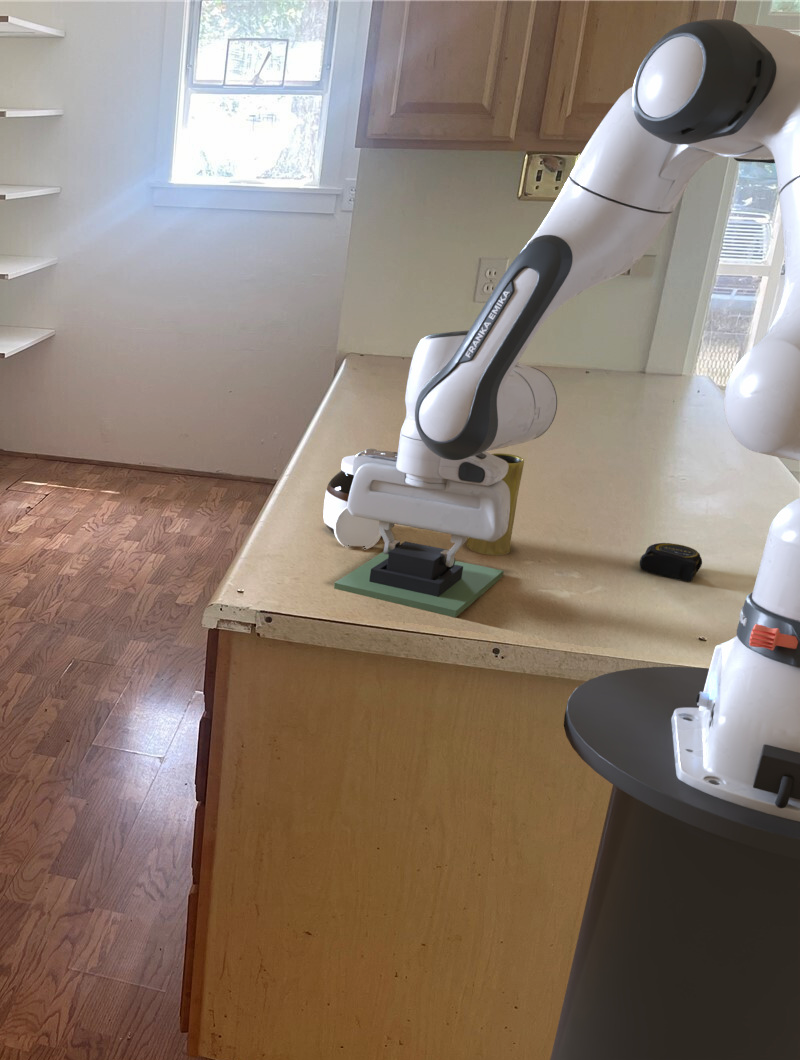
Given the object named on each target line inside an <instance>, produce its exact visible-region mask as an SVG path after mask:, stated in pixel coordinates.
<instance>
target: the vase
mask: <svg viewBox="0 0 800 1060" xmlns="http://www.w3.org/2000/svg"><path fill="white" fill-rule="evenodd" d="M491 454H492V455H494V456H497V457H499V458H501V459H503V460H505V461H506V462H507V463H508V465H509V468H508V472H507V474H506V476H505V477H504V478H503V479H502V480H503V481H504V482H505V483H506V484H507V486H508V488H509V491H510V515H509V524H508V529H507V532H506V533H505V534H504V535H503V536H502V537H501V538H499V539H498V540H496V541H494V542H489V541H484V540H479V539H473V538H467V539H468V540H467V543H466V547H467V548H468V549H469V550H471V551H473V552H476V553H478V554H479V553H480V554H482V555H483V554H484V555H492V556H499V555H506V554H508V553H510V552H511V542H512V535H513V529H514V523H515V516H516V509H517V502H518V496H519V493H520V492H519V491H520V485H521V481H522V476H523V471H524V466H525V465H524V464H525V459H524V458H522V457H521V456H519V455H515V454H510V453H495V452H494V453H491Z"/></svg>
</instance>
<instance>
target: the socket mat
mask: <svg viewBox="0 0 800 1060" xmlns="http://www.w3.org/2000/svg"><path fill="white" fill-rule="evenodd" d="M388 556H389V555H387V554H384V551H382V552H381V553H379V554H377V555H376V556H374V557H372V558H371V559H370V560H368V561H367V562H365V563H364V564H361V565H360V566H358V567H357V568H355V569H354V570H352V571H351V572H349V573H347V574H346V575H345V576H343V577H341V578H340V579H339V580H336V581H335V582H334V585H333V590H338V591H341V592H346V593H351V594H355V595H359V596H363V597H366V598H371V599H375V600H380V601H384V602H388V603H392V604H396V605H401V606H405V607H409V608H414V609H418V610H422V611H424V612H425V611H426V612H430V613H435V614H438V615H442V616H447V617H450V618H457V617H458V616H459V615H460V614H462V613H463V612H464V611H465V610H466V609H467V608H469V607H470V606H471V605H472V604H474V602H475V601H477V600H478V599H479V598H481V596H482V595H484V594H485V593H486V592H487V591H488V590H489V589H490V588H492V587H493V586H494V585H495V584H497V582H499V580H500V579H502V578H503V576H504V572H505V571H504V570H503V569H499V568H493V567H488V566H484V565H478V564H473V563H468V562H464V561H458V560H456V558H455V559H454V563H453V565H452V566H451V567H447V569H446V572H444V573H443V574H442V575H440V576H439V577H438V578H436V579H435V580H431V579H426V578H422V577H417V576H412V575H408V574H403V573H398V572H394V571H389V570H387V563H388Z"/></svg>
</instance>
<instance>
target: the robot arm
mask: <svg viewBox="0 0 800 1060" xmlns="http://www.w3.org/2000/svg"><path fill="white" fill-rule="evenodd" d="M719 157H725V158H732V159H734V160H735V161H737V162H740V163H743V162H744V163H765V164H774V165H775V170H776V181H777V192H778V193H777V194H778V202H779V210H780V220H781V229H782V242H783V255H784V256H783V257H784V279H783V280H784V282H783V289H782V295H781V299H780V303H779V306H778V309H777V312H776V314H775V317H774V320H773V321H772V323H771V326H770V327H769V328H768V330H767V331H766V333H765V335H764V336H763V337H762V338H761V339H760V341H759V342H758V343H756V345H753V347H751V348H750V349H749V350H748V351H747V352H745V354H744V355H743V356H742V357H741V358H740V359H739V361H738V362H737V364H736V365H735V367H734V368H733V369H732V372H731V373H730V375H729V377H728V380H727V383H726V386H725V390H724V395H723V411H724V417H725V421H726V423H727V426H728V428H729V430H730V432H731V434H732V436H733V437H734V438H735V440H736V441H737V442H738V443H739V444H740V445H741V446H743V447H744V448H745V449H746V450H749V451H752V452H755V453H759V454H762V455H767V456H770V457H776V458H780V459H786V460H791V461H798V462H800V35H799V34H798V35H797V34H795V33H792V32H789V31H788V30H787V29H783V28H778V27H773V26H767V25H758V24H750V23H739V22H736V21H734V20H730V19H725V18H715V19H714V18H713V19H712V18H711V19H701V20H694V21H691V22H687V23H683V24H681V25H679V26H676V27H674V28H672V29H671V30H669V31H668V32H666V33H665V34H664V35H663V36H661V38H659V40H658V39H657V41H656V42H655V44H653V45H652V47H651V48H650V49H649V51H648V52H647V54H646V55H645V56H644V58H643V59H642V62H641V63H640V65H639V67H638V70H637V71H636V75H635V78H634V81H633V85H632V86H631V87H630V88H627V90H625V91H624V92H623V93H622V94H621V95H620V96H619V98H618V99H617V100H616V101H615V103H614V104H613V106H612V107H611V108H610V110H608V112H607V113H606V114H605V116H604V117H603V119H602V120H601V122H600V124H599V125H598V126H597V128H595V131H594V132H593V134H592V135H591V137H590V138H589V140H588V142H587V143H586V145H585V146H584V149H583V150H582V152H581V154H580V155H579V157H578V159H577V161H576V162H575V165H574V166H573V168H572V170H571V172H570V174H569V176H568V178H567V180H566V181H565V183H564V185H563V187H562V189H561V190H560V193H559V194H558V196H557V198H556V200H555V201H554V202H553V205H552V206H551V208H550V210H549V211H548V213H547V215H546V216H545V218H544V219H543V221H542V222H541V224H540V226H539V227H538V228H537V230H536V231H535V233H534V234H533V235H532V236H531V238H530V239H529V241H527V243H526V244H525V245H524V246H523V247H522V249H521V250H520V252H519V253H518V254H517V256H516V257H515V258H514V259H513V261H512V262H511V264H510V265H509V266H508V267H507V269H506V270H505V272H504V273H503V275H502V277H501V279H500V280H499V281H498V283H497V284H496V285H495V288H494V289H493V291H492V292H491V294H490V295H489V297H488V299H487V301H486V302H485V304H484V306H483V307H482V308H481V310H480V312H479V314H478V315H477V317H476V319H475V321H474V322H473V324H472V325H471V327H470V328H469V330H457V331H449V332H437V333H430V334H427V335H425V336H424V337H423V338H421V339H420V340H419V342H418V344H417V345H416V347H415V349H414V352H413V355H412V358H411V361H410V362H411V363H410V365H409V371H408V377H407V382H406V389H405V394H404V395H405V396H404V403H405V409H406V410H405V411H406V413H405V419H404V421H403V424H402V426H401V429H400V434H399V441H398V448H397V451H390V450H380V449H379V450H377V449H375V448H365V450H361V451H359V452H358V453H356V454H355V455H356V456H355V458H354V462H353V470H352V471H353V475H354V479H353V482H352V485H351V489H350V493H349V497H348V503H347V509H348V511H349V512H350V514H351V515H352V516H356V517H361V518H366V519H372V520H377V521H379V528H378V529H379V531H380V533H381V535H382V537H381V538H382V540H383V542H384V547H383V552H384V554H387V555H389V552H390V551H391V550H393V549H394V548H396V547H397V546H399V545H400V544H401V540H397V539H395V537H394V534H393V531H392V528H393V527H395V525H399V526H404V527H410V528H415V529H421V530H427V531H431V532H437V533H442V534H447V535H451V537H450V543H451V544H453V545H452V546H451V548H450V549H447V550H443V552H441V553H440V560H439V565H442V566H447V567H451V566H452V565H453V563H454V559H455V560H456V553H457V552H458V551H459V550H460V549H461V548H462V547H463V545H464V544H465V543H466V542H468V540H467V539H469V538H473V539H479V540H484V541H489V542H494V541H496V540H498V539H499V538H501V537H502V536H503V535H504V534H505V533H506V532H507V529H508V524H509V515H510V491H509V488H508V486H507V484H506V483H505V482H504V481H503V480H502V479H503V478H504V477H505V476H506V474H507V472H508V468H509V465H508V463H507V462H506V461H505V460H503V459H501V458H499V457H497V456H494V455H492V454H493V453H490V452H489V451H495V450H499V449H505V448H509V447H511V446H516V445H520V444H525V443H527V442H531V441H532V440H535V439H538V438H540V437H541V436H543V435H544V434H545V433H546V432H547V431H548V430H549V429H550V427H551V426H552V423H553V422H554V420H555V417H556V414H557V409H558V395H557V391H556V388H555V385H554V383H553V381H552V380H551V379H550V378H549V376H548V375H547V374H546V373H545V372H543V371H542V370H541V369H538V368H536V367H534V366H533V367H532V366H529V365H526V364H524V363H522V362H519V361H520V359H521V357H522V356H523V354H524V353H525V351H526V350H527V349H528V347H529V345H530V343H531V342H532V340H533V339H534V337H535V335H537V332H538V331H539V330H540V328H541V326H543V324H544V323H545V322H546V321H547V319H548V318H549V317H550V316H551V315H552V314H553V313H554V312H556V311H557V310H558V309H559V308H560V307H562V306H564V304H566V303H567V302H568V301H570V300H572V299H574V298H575V297H578V296H579V295H581V294H582V293H584V292H587V291H589V290H590V289H592V288H594V287H597V286H598V285H601V284H603V283H605V282H608V281H610V280H612V279H615V278H617V277H618V276H621V275H622V274H624V273H626V272H628V271H629V270H631V269H632V268H634V267H635V266H636V265H637V263H638V262H639V261H640V260H641V259H642V258H643V256H644V255H645V254H646V253H647V252H648V250H649V249H650V248H651V247H652V246H653V245H654V243H655V242H656V241H657V239H658V238H659V237H660V235H661V233H662V232H663V230H664V229H665V227H666V225H667V223H668V221H669V219H670V218H671V216H672V215H673V213H674V211H675V210H676V207H677V205H678V204H679V202H680V200H681V198H682V197H683V194H684V193H685V191H686V189H687V187H688V185H689V183H690V182H691V180H692V179H693V178H694V176H695V174H696V173H697V172H698V171H699V170H700V168H702V167H703V166H704V165H705V164H707V163H708V162H710V161H712V160H714V159H716V158H719ZM364 455H365V456H364ZM765 540H766V541H765V545H764V548H763V552H762V555H761V558H760V559H761V560H760V563H759V567H758V571H757V575H756V579H755V582H754V586H753V589H752V592H750V593H748V594H747V595H746V597H745V600H744V603H743V605H742V606H741V608H740V612H739V615H738V616H739V620H738V624H737V628H736V635H735V636H734V637H733V638H731V639H728V640H726V641H724V642H722V643H719V644H717V645H716V646H715V648H714V650H713V654H712V658H711V661H710V665H709V672H708V676H707V680H706V684H705V687H704V691H703V692H700V693H699V694H697V698H696V702H697V705H698V706H699V708H677V709H675V710H674V713H673V716H672V718H671V722H672V733H673V744H674V755H675V766H676V775H677V778H678V779H679V780H681V781H683V782H684V783H686V784H688V785H690V786H692V787H694V788H696V789H698V790H700V791H702V792H705V793H707V794H710V795H712V796H715V797H717V798H720V799H723V800H725V801H728V802H731V803H734V804H737V805H740V806H744V807H747V808H750V809H754V810H757V811H760V812H764V813H767V814H771V815H775V816H778V817H782V818H786V819H790V820H794V821H798V822H800V497H798V498H796V499H794V500H792V501H791V502H789V503H788V504H787V505H785V506H784V507H783V508H782V509H780V510H779V511H778V513H777V514H776V515H775V517H774V518H773V520H772V521H771V523H770V526H769V529H768V533H767V536H766V539H765Z"/></svg>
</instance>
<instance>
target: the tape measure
mask: <svg viewBox="0 0 800 1060" xmlns="http://www.w3.org/2000/svg"><path fill="white" fill-rule="evenodd" d="M702 565H703V559H702V556H701V554H700V552H698V551H697V549H694V548H693V547H690V546H687V545H683V544H679V543H671V542H657V543H654V544H651V545H649V546H648V547H647V548H646V550H645V553H643V554H642V555H641V557H640V560H639V568H640V569H641V570H642V571H643V572H645V573H649V574H652V575H656V576H660V577H664V578H668V579H674V580H678V581H683V582H686V583H687V582H689V583H691V582H692V581H693V579H694V577H695V576H696V575H697V573H698V572H699V570H700V569H701V568H702Z"/></svg>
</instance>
